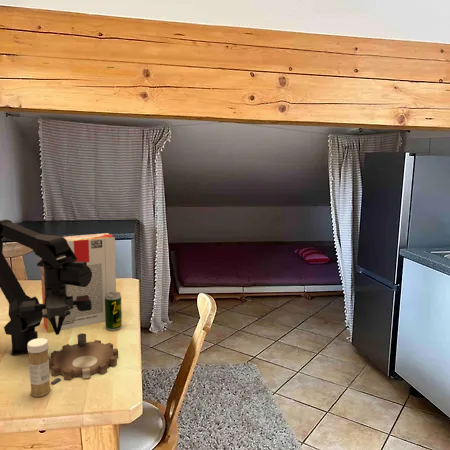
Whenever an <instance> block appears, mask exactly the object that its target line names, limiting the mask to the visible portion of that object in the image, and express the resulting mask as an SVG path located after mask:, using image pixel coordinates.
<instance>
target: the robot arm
mask: <svg viewBox="0 0 450 450" xmlns="http://www.w3.org/2000/svg"><path fill="white" fill-rule="evenodd" d="M63 237H64V236H59V235H54V234H44V233H40V232H37V231H35V230H32V229H30V228H26V227H24V226H22V225H20V224H18V223H16V222H13V221H11V220H10V219H1V220H0V290H1V292H2V294H3V295H4V297H5V299H6V301H7V303H8V317H9V319H10V320H9V321H8V322H7V323H6V324H5V325H4V327H3V330H4V333H5V334H6V335H7V336H10V338H11V356H16V355H23V354H24V355H26V354H29V353H28V347H27V344H28V342H29V341H31V340H33V339H37V338H39V337H38V331H37V330H36V328H37V327H39V326H40V325H41V324H42V323H41V322H42V321H43V318H47V319H48V320H49V321H50V323H51V324H52V327H53V329H54V331H55V332H54V334H55V335H56V336H57V335H60V333H61V331H62V330H61V327H62V324H63V321H64V319H65V317H66V316H67V315H70V314H71V312H70V309H73V307H77V309H78V310H79V311H88V310H91V309H92V304H91V298H90V297H89V296H88V295H85V296H76V300H74V301H73V296H67V289H66V284H67V285H73V286H80V287H86V286H88V285H89V283H90V281H91V278H92V272H91V269H90V268H89V267H88V266H87V262H83V261H82V262H78V261H76V260H77V258H76V256H75V254H74V253H73V251H72V250H71V248H70V247H69V245H68V243H67V240H66V239H65V238H63ZM5 238H6V239H8V240H10V241H13V242H15V243H17V244H19V245H22V246H24V247H26V248H29V249H31V250H32V251H33V253H34V255H36V256H37V257H39V259H40V258H42V260H41V261H40V260H39V261H38V262H37V263H36V266H37V267H40V268H41V267H44V286H45V303H44V304H43V303H40V302H39V298H38V297H37V296H33V297H31V296H29V295H27V294H26V292H25V290H24V289H23V287H22V285H21V284H20V281H19V280H18V279H17V276H16V275H15V273H14V271H13V270H12V268H11V266H10V264H9V262H8V260H7V259H6V257H5V255H4V253H3V249H4V242H3V240H4V239H5ZM63 256H66V257H64V258H61V259H58V260H57V258H60V257H63ZM55 316H58V327H57V323H56V318H55Z"/></svg>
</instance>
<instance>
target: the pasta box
mask: <svg viewBox="0 0 450 450" xmlns="http://www.w3.org/2000/svg"><path fill="white" fill-rule="evenodd" d="M62 237H63V238H65V239H66V240H67V243H68V245H69V247H70V248H71V250H72V251H73V253H74V254H75V256H76V258H77V260H76V261H78V262H82V261H83V262H87V266H88V267H89V268H90V269H91V272H92V278H91V281H90V283H89V285H88V286H86V287H80V286H73V285H67V284H66V289H67V296H73V301H74V300H76V296H85V295H88V296H89V297H90V298H91V304H92V309H91V310H88V311H79V310H78V309H77V307H73V309H70V312H71V314H70V315H67V316H66V317H65V319H64V321H63V324H62V327H61V330H60V331H64V330H70V329H74V328H80V327H81V328H82V327H86V326H90V325H96V324H100V323H105V294H106V293H108V292H117V278H116V275H117V273H116V270H117V269H116V265H117V263H116V237H115V236H113V234H110V233H107V232H105V233H95V234H94V233H93V234H81V235H69V236H62ZM64 257H66V256H63V257H60V258H57V260H58V259H61V258H64ZM41 260H42V258H40V257H39V262H40V261H41ZM40 276H41V277H40V279H41V293H42V294H41V299H42V300H41V301H42V304H44V303H45V286H44V267H41V266H40ZM55 318H56V323H57V327H58V316H55ZM42 320H43V326H44V328H45V330H46V332H47V333H48V334H49V333H55V331H54V329H53V327H52V324H51V323H50V321H49V320H48V319H47V318H42Z"/></svg>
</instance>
